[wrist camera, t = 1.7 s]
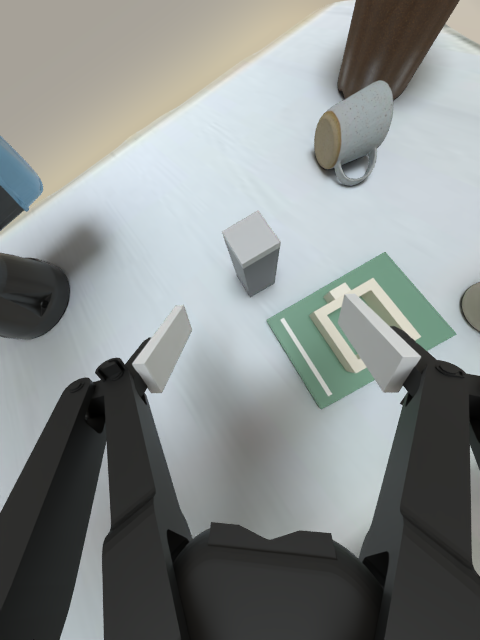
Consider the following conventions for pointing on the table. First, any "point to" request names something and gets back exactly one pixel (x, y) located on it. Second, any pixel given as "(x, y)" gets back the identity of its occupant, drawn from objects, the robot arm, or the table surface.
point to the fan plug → (253, 252)
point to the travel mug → (472, 305)
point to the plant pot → (390, 41)
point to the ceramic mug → (354, 129)
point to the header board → (330, 341)
